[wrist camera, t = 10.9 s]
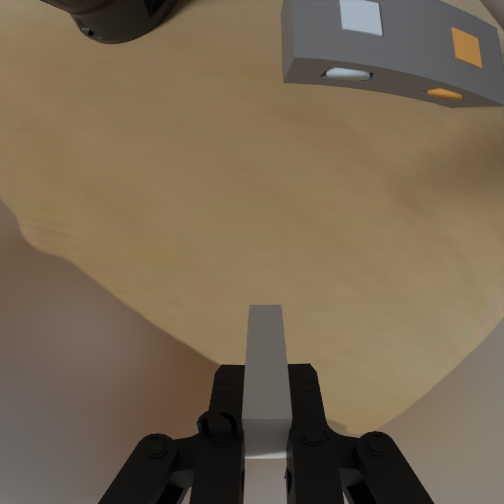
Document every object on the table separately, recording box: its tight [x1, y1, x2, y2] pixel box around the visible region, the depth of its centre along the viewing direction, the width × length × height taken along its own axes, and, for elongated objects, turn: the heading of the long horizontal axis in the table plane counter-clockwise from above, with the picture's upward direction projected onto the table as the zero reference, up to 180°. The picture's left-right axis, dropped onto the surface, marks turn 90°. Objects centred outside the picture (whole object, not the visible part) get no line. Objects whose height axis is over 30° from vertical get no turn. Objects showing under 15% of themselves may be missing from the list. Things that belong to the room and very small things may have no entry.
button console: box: [281, 0, 504, 108], centre depth 23 cm, size 10×24×12 cm, turn 91°
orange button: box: [427, 88, 463, 100], centre depth 23 cm, size 4×4×4 cm
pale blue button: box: [326, 67, 370, 81], centre depth 24 cm, size 4×4×4 cm
